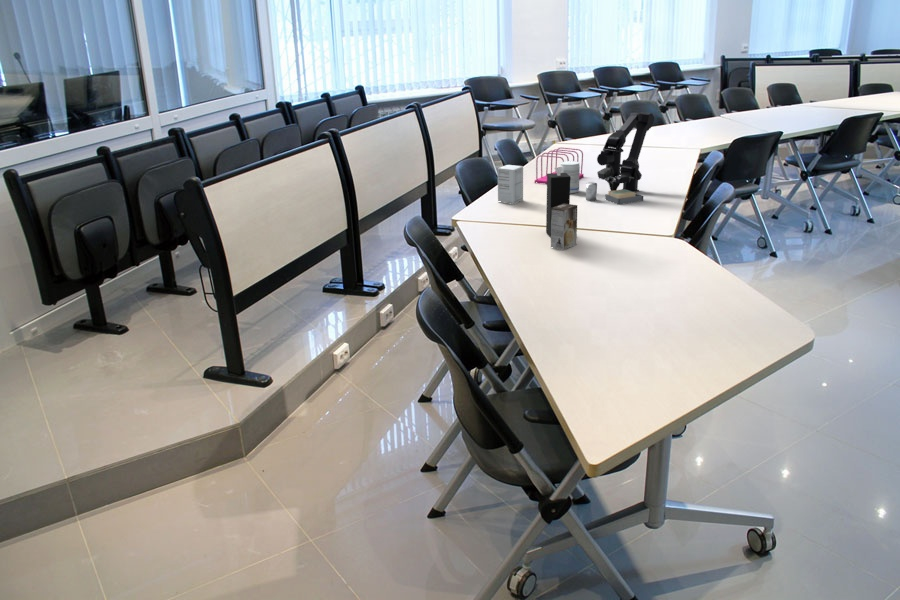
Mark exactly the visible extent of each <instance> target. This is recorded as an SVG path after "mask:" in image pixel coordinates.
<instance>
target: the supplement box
mask: <svg viewBox="0 0 900 600" xmlns="http://www.w3.org/2000/svg"><path fill="white" fill-rule="evenodd" d="M498 201H501V202H507V203H506V204H508V203H511V204H510V205H515V204H517V202H518V203H520V202H522V201H524V166H523V165H514V164H513V165H512V164H506V165H503V166H500V167H498V168H497V202H498ZM519 201H520V202H519ZM501 202H500V203H501Z"/></svg>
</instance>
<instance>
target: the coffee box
mask: <svg viewBox="0 0 900 600" xmlns="http://www.w3.org/2000/svg"><path fill="white" fill-rule="evenodd" d="M577 232H578V205H577V204H572V203H570V204H565V203H564V204H561V205H558V206H555V207H553V208H551V237H550V248H551V247H553V248H552V249H555V248H558V249H557V250H560V249H562V250H561V251H566V250H568V249H570V248H573V247H574V246H576V245H577V242H578V241H577V239H578V237H577V235H578V234H577ZM569 247H570V248H569ZM567 248H568V249H567ZM565 249H566V250H565Z"/></svg>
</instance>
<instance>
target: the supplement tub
mask: <svg viewBox="0 0 900 600" xmlns="http://www.w3.org/2000/svg"><path fill="white" fill-rule="evenodd" d="M560 167H562V171H561V173H567V174H568V175H569V176H570V177H571V181H570V194H575V193H578V192H579V191H580V179H579V175H580V174H581V166H580V162H579V161H578V162H577V161H575V160H574V161H573V160H571V161H570V160H569V161H568V160H566V161H564V162H563V161H562V162H560Z"/></svg>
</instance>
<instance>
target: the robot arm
mask: <svg viewBox="0 0 900 600" xmlns="http://www.w3.org/2000/svg"><path fill="white" fill-rule="evenodd" d="M654 122H655V116H654V114H653V113H650V112H630V113H629V116H628V118H627V119H626V120H625V122H624V123H623V124H622V125H621V127H620V128H619V129H618V130H617V131H615V132H613V133H611V134H610V135H609V136H608V137H607V140H606V142H605V144H604V146H603V149H602V150H600V153H599V154H598V155H597V157H596V161H597V163H598V165H599V166H605V168H602V169H600V170H598V171H597V173H596V174H597V177H598V179H599V180H600V179H601V180H603V181H606V182H607V184H608V185H609V189H610V190H609V191H614V190H618V188H619V186H620V185H621V184H622V189H625V190H629V191H631V192H634V193H637V192H640V189H638V187H639V186H638V185H639V181H640V180H642V176H643V175H642V172H641V171H640V170H639V169H640V164H639V157H640V154H641V151H642V148H643V145H644V142H645V137H646V135H647V132H648V131H650V130H651V128H652V126H653V124H654ZM634 128H636V131H635V135H634V136H633V141H632V143H631V147H630V149H629V150H630V151H629V153H628V157H627V158H626V159H623V160H622V153H623V152H624V149H623V147H624V146H625V144H626V139H627V137H628V135H629V134H630V133H631V132H632V130H634ZM621 160H622V161H621Z"/></svg>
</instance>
